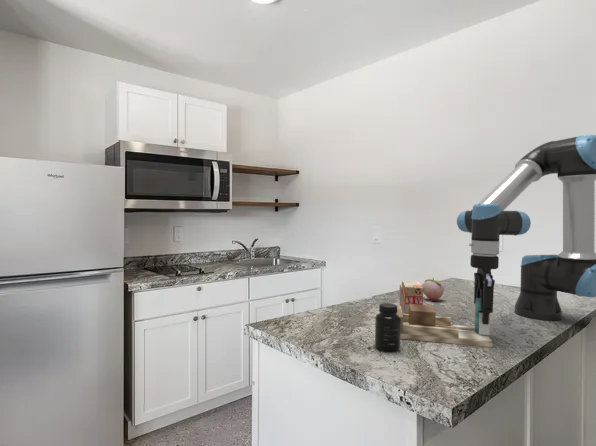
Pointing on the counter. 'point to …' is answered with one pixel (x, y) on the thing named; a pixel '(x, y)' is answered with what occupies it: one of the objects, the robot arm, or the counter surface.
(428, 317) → the brown teal long piece
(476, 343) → the lane board
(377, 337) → the supplement bottle
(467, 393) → the counter surface
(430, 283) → the decorative fruit
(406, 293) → the stack of blocks
